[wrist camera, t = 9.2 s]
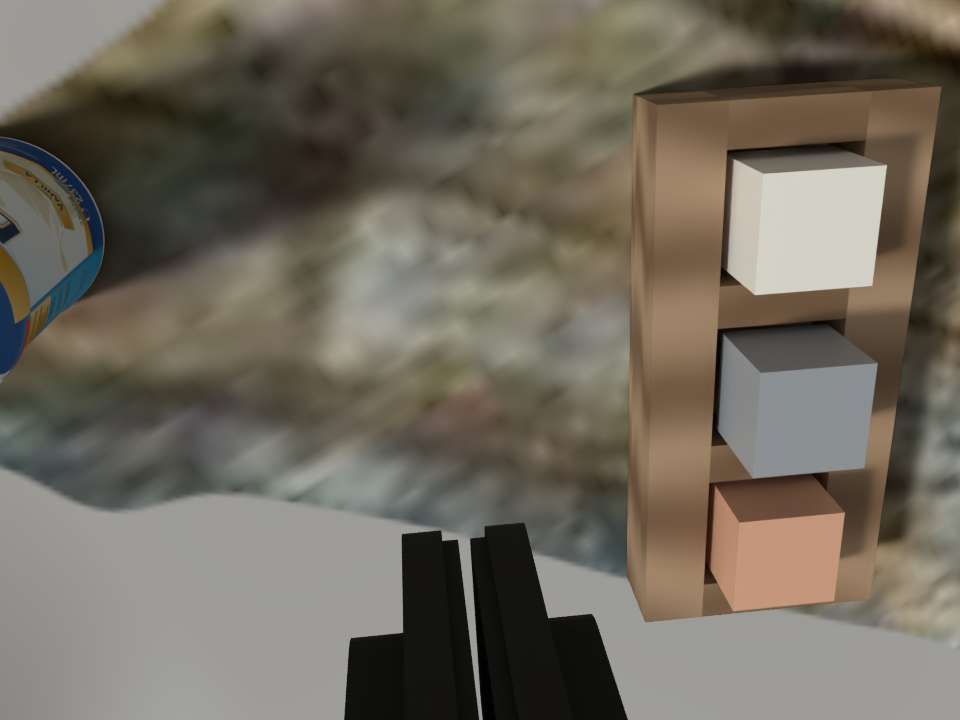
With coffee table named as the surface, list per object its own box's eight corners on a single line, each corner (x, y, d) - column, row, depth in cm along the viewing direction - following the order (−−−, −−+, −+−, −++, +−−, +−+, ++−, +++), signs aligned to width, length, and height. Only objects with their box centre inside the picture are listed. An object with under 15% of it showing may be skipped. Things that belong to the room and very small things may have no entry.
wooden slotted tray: (633, 94, 40) (657, 105, 37) (892, 77, 41) (941, 86, 37) (626, 576, 50) (645, 622, 47) (835, 555, 51) (869, 599, 47)
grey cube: (721, 332, 42) (760, 373, 37) (826, 323, 42) (877, 363, 38) (716, 428, 44) (752, 478, 39) (816, 419, 44) (864, 468, 40)
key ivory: (722, 153, 40) (763, 173, 35) (832, 145, 40) (886, 165, 36) (716, 262, 42) (754, 295, 37) (821, 254, 42) (872, 285, 38)
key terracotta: (705, 471, 46) (739, 522, 41) (801, 462, 46) (844, 512, 42) (701, 553, 48) (733, 611, 43) (793, 544, 48) (834, 601, 44)
